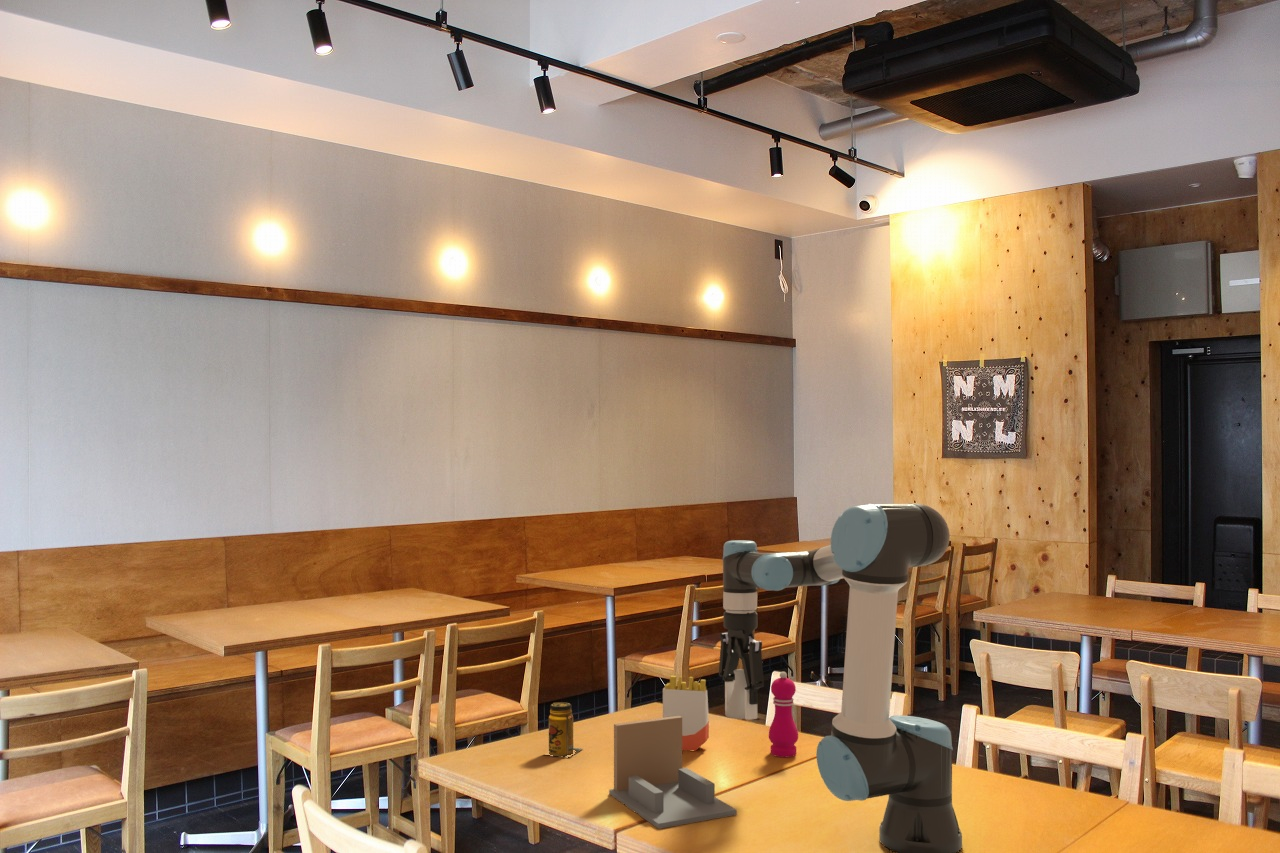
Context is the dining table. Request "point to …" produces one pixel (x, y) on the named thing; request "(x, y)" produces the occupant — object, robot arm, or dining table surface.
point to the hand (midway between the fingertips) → (741, 714)
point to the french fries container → (688, 710)
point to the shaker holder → (661, 775)
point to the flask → (737, 697)
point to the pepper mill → (783, 718)
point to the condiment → (561, 730)
